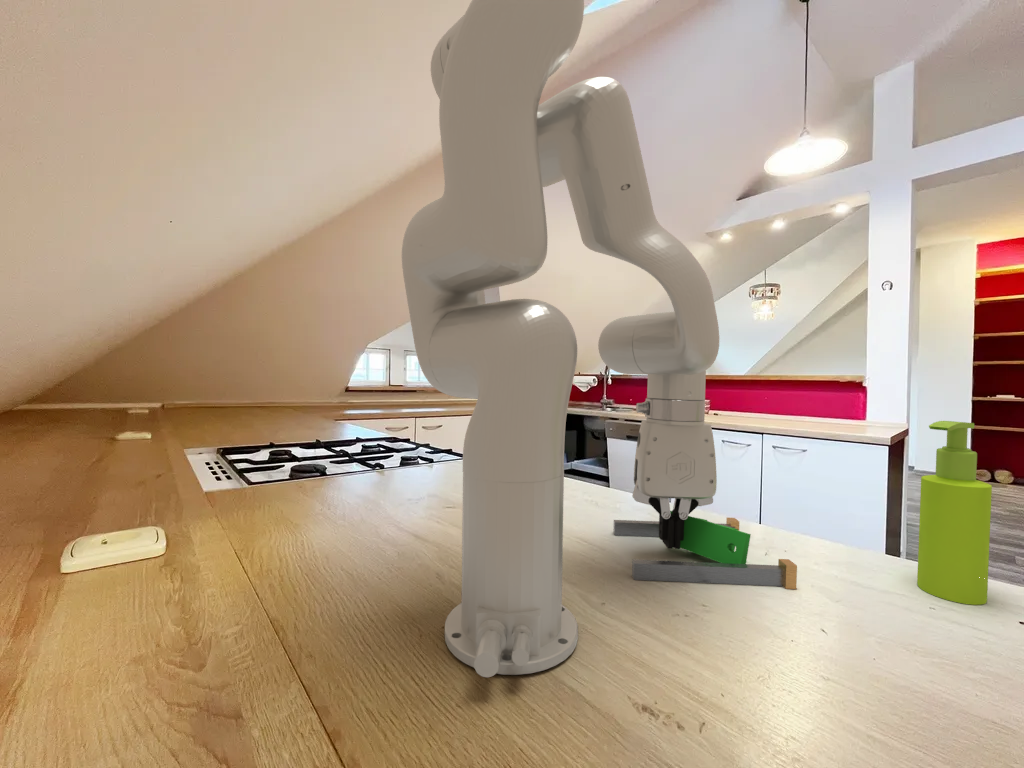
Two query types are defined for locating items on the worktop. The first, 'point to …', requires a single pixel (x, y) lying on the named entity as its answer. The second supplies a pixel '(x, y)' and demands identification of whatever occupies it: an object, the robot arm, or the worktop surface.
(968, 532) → the soap dispenser
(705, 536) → the green block
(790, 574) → the chute
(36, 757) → the worktop surface
